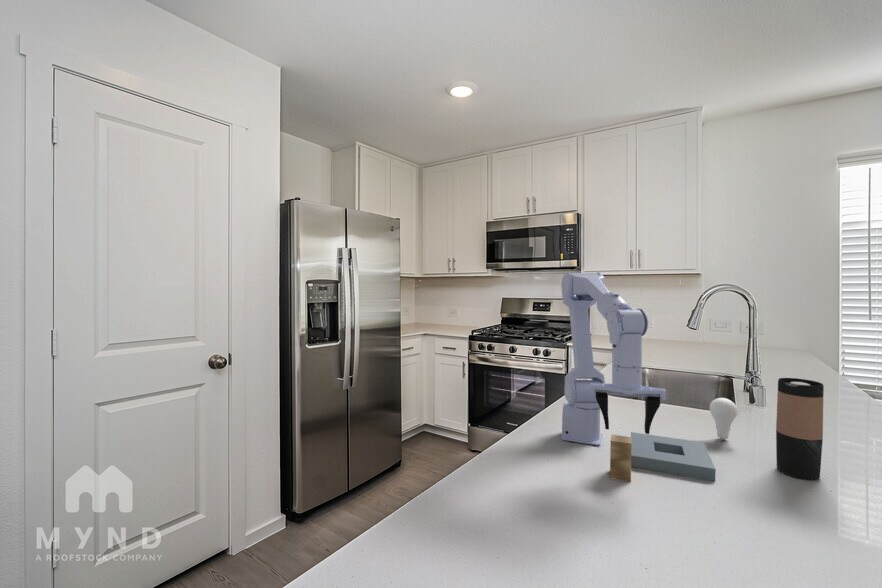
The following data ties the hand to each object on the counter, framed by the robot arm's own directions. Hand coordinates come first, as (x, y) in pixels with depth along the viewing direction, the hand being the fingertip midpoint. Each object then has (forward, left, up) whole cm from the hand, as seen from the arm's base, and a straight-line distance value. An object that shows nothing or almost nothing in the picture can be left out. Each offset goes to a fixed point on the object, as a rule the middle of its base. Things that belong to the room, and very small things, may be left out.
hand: (626, 430), depth 88 cm
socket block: (+9, +14, -10) cm, 19 cm away
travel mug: (+34, +18, -10) cm, 40 cm away
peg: (-1, 0, -10) cm, 10 cm away
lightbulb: (+23, +34, -10) cm, 42 cm away
